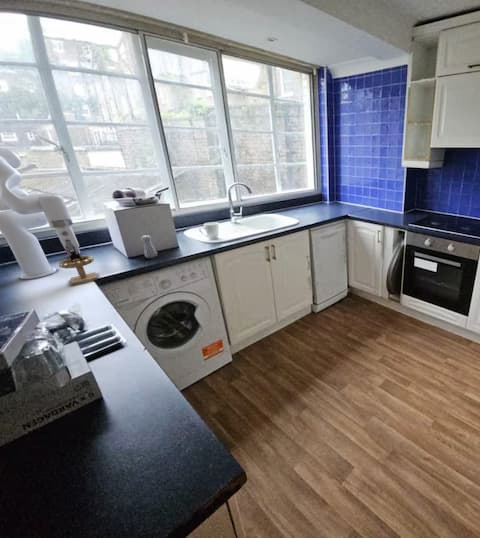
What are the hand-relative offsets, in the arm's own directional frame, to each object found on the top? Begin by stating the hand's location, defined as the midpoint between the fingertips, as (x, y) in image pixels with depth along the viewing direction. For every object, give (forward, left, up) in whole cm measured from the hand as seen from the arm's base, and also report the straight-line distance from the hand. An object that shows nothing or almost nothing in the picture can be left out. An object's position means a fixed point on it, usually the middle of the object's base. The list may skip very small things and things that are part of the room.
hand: (77, 261), depth 138 cm
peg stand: (+5, 0, -8) cm, 9 cm away
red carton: (-47, -2, -8) cm, 48 cm away
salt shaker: (-5, +29, -8) cm, 31 cm away
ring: (+5, 0, +1) cm, 5 cm away
